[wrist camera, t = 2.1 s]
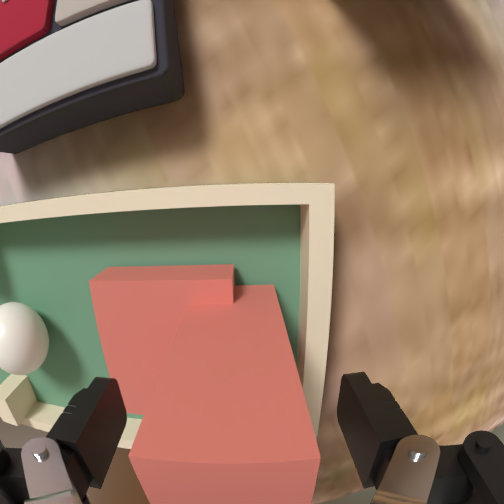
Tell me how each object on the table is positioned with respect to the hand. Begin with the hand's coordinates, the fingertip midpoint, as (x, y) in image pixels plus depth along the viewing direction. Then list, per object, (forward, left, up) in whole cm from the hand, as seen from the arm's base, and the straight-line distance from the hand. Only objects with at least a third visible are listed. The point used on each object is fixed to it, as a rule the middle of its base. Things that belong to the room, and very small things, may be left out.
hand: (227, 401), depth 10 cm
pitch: (+8, 0, -6) cm, 10 cm away
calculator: (+8, -18, -7) cm, 21 cm away
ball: (+12, 0, -3) cm, 12 cm away
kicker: (+2, 0, -5) cm, 5 cm away
